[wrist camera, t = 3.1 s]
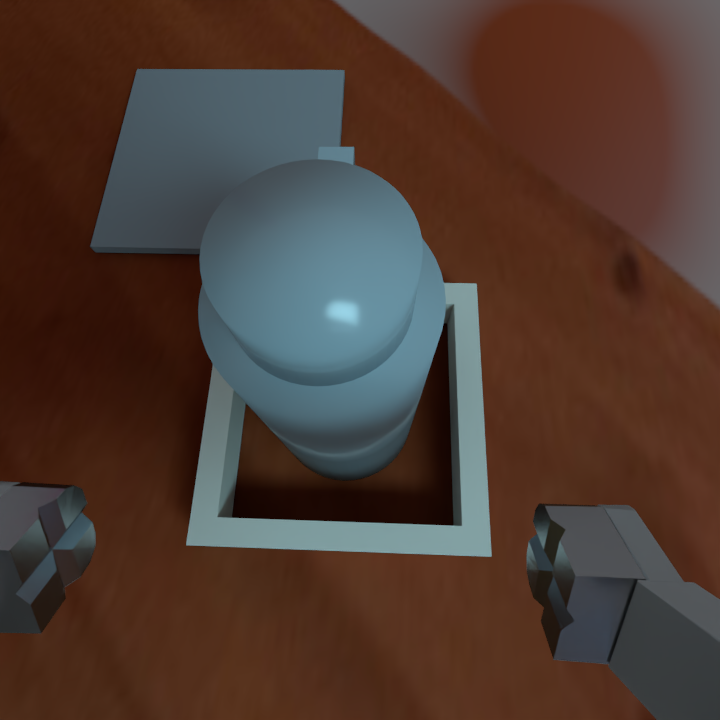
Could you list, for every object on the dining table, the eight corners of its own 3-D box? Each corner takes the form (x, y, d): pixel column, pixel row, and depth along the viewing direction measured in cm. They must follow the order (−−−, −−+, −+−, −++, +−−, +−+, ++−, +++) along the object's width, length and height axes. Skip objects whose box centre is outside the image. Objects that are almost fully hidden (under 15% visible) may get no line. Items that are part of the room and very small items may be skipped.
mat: (95, 252, 25) (90, 246, 24) (140, 76, 29) (137, 69, 28) (333, 256, 24) (332, 250, 24) (344, 77, 28) (344, 70, 28)
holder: (203, 544, 20) (186, 545, 18) (237, 299, 23) (225, 278, 22) (479, 555, 19) (491, 556, 17) (468, 304, 23) (476, 283, 21)
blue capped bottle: (277, 478, 21) (135, 386, 8) (292, 305, 23) (204, 46, 11) (411, 482, 20) (467, 394, 8) (410, 307, 23) (451, 45, 11)
